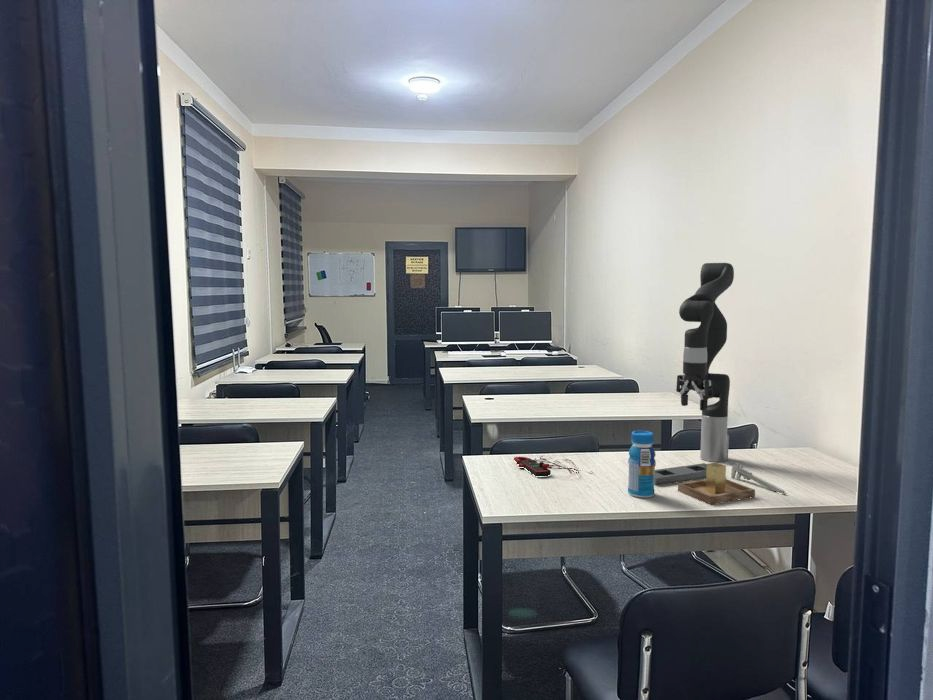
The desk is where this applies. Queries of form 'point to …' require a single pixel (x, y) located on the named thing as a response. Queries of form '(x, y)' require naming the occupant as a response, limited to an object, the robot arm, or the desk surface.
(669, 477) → the rail
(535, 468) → the digital clamp meter
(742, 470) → the caliper
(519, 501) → the desk surface
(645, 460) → the beverage bottle
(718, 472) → the peg
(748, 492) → the tray
